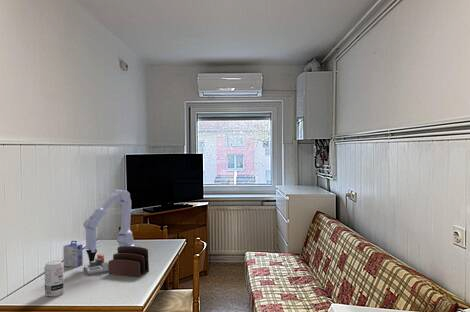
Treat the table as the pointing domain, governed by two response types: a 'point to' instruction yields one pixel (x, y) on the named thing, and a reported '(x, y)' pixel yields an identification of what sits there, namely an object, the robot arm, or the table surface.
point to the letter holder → (129, 262)
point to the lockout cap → (101, 257)
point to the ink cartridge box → (72, 255)
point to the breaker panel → (97, 269)
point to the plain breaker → (98, 261)
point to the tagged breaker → (92, 264)
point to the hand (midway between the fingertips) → (91, 262)
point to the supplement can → (54, 278)
